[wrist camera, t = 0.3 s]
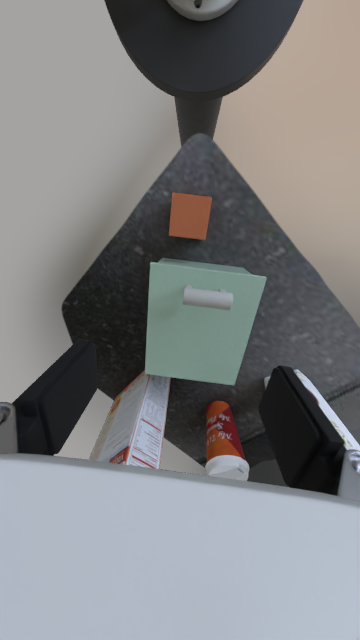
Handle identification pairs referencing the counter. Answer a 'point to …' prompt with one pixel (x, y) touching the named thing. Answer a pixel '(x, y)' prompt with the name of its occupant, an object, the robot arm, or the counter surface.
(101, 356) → the counter surface
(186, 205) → the block
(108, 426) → the cracker box
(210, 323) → the lid
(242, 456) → the paper cup
